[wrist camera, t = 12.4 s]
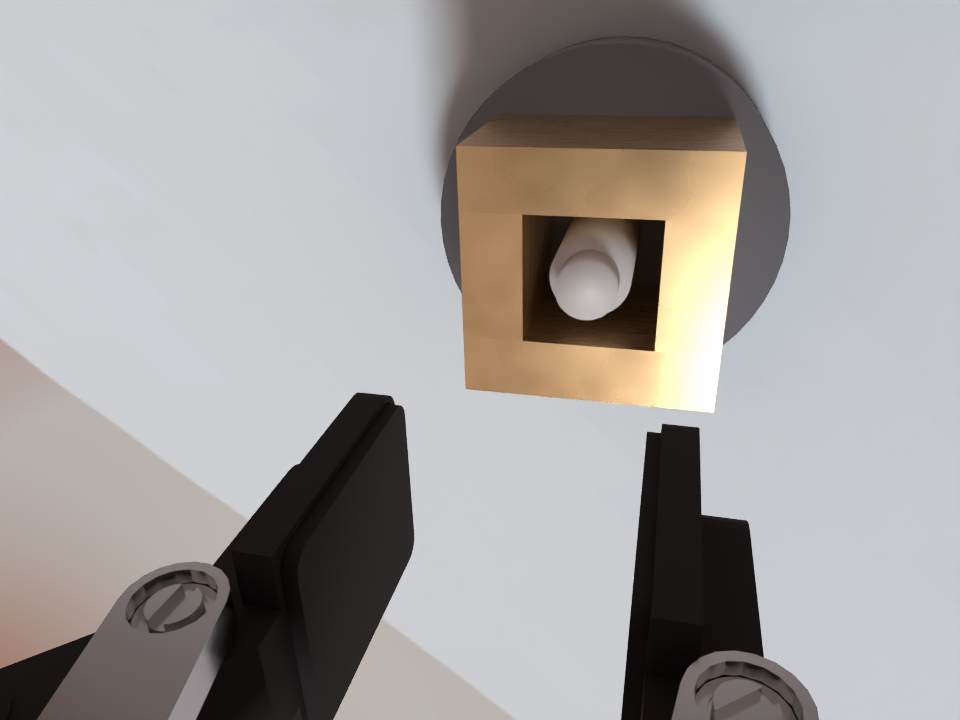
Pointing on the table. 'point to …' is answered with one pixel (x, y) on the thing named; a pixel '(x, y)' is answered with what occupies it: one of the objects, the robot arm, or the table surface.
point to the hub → (637, 242)
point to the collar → (600, 194)
